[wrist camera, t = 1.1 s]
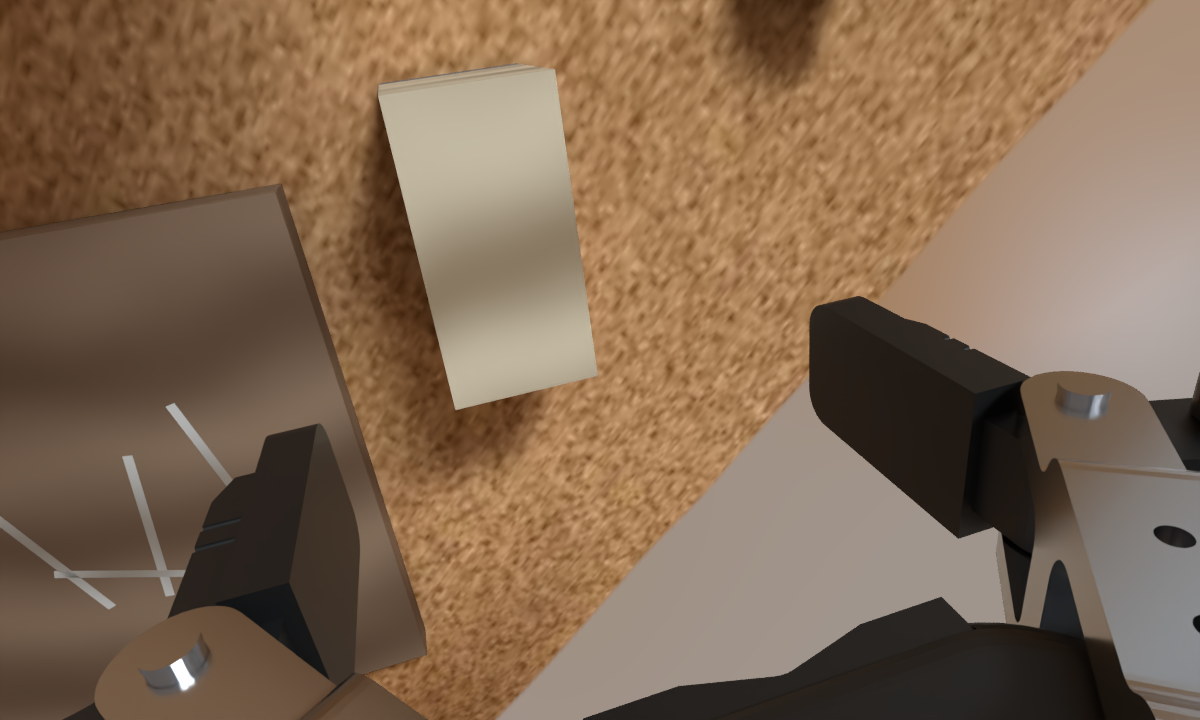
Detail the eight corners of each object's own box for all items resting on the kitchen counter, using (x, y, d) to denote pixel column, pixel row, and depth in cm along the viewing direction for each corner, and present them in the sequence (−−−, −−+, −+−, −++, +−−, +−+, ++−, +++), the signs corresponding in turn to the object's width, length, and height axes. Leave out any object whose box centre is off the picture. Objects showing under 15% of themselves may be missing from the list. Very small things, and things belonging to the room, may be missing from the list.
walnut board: (-313, 286, 20) (-363, 304, 18) (281, 183, 23) (275, 192, 22) (29, 748, 29) (12, 782, 27) (425, 629, 32) (426, 654, 30)
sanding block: (378, 83, 23) (378, 95, 17) (515, 63, 23) (554, 69, 18) (440, 337, 27) (455, 410, 21) (556, 311, 27) (597, 375, 22)
